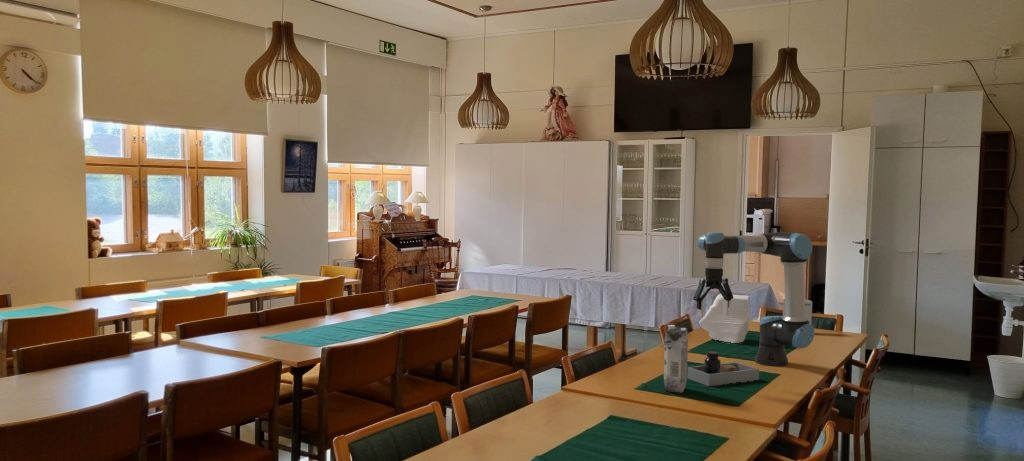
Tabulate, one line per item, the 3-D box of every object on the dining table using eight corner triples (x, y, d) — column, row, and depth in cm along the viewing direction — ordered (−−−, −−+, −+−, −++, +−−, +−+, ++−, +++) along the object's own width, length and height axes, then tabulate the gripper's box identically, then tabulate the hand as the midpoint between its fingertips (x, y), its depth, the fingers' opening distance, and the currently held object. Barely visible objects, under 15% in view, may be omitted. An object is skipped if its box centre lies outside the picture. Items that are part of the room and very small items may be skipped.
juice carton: (687, 387, 305) (688, 324, 304) (684, 394, 295) (686, 328, 294) (665, 385, 308) (667, 322, 307) (662, 391, 298) (664, 327, 297)
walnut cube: (728, 375, 325) (729, 364, 325) (736, 378, 320) (736, 367, 320) (720, 376, 323) (720, 365, 323) (727, 379, 318) (728, 368, 318)
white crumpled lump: (744, 346, 395) (746, 299, 394) (697, 339, 411) (698, 295, 410) (756, 340, 412) (757, 295, 411) (710, 334, 428) (711, 291, 427)
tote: (735, 372, 333) (736, 362, 333) (758, 380, 319) (759, 369, 319) (687, 378, 321) (687, 367, 321) (708, 386, 308) (709, 374, 308)
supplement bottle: (720, 381, 314) (721, 354, 313) (704, 380, 315) (705, 353, 315) (719, 378, 320) (719, 351, 320) (703, 377, 322) (704, 350, 321)
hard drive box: (784, 333, 435) (785, 300, 434) (781, 331, 442) (782, 298, 442) (811, 334, 432) (812, 301, 431) (808, 332, 440) (809, 299, 439)
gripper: (730, 266, 324) (729, 313, 325) (685, 267, 314) (684, 316, 315) (742, 267, 317) (741, 315, 318) (696, 269, 307) (695, 318, 308)
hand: (712, 315), depth 316 cm, fingers open, 13 cm apart
